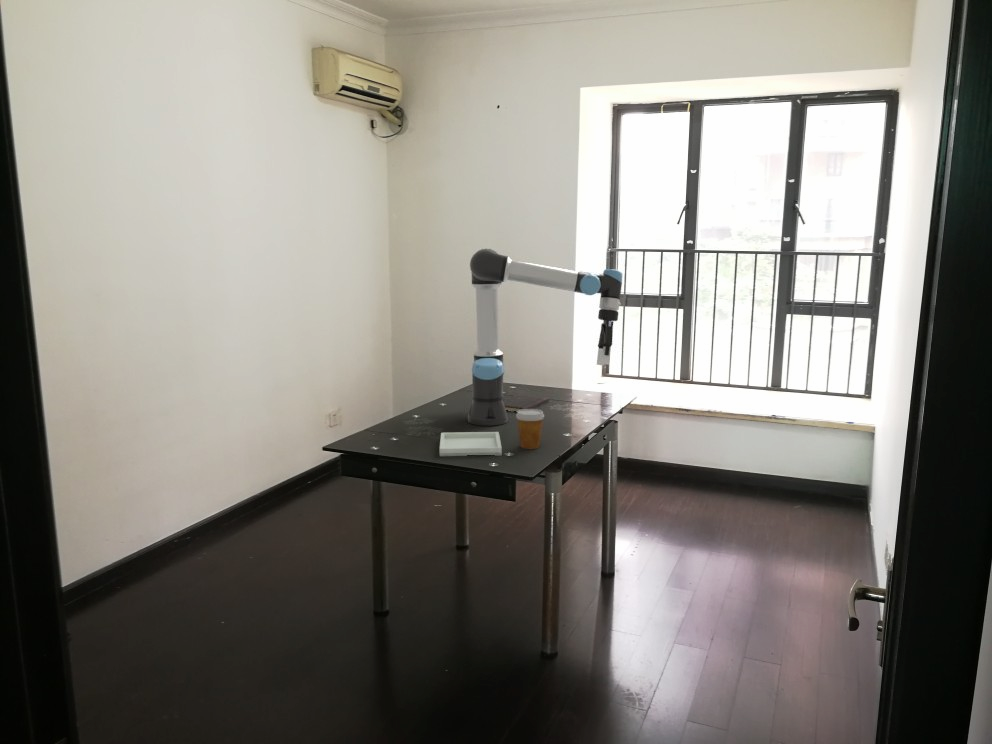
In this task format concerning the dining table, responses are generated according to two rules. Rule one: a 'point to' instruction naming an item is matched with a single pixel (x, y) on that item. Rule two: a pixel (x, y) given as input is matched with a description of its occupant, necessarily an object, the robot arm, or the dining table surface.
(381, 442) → the dining table surface
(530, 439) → the disposable coffee cup
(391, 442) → the dining table surface
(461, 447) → the tray
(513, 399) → the hardcover book
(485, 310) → the robot arm
